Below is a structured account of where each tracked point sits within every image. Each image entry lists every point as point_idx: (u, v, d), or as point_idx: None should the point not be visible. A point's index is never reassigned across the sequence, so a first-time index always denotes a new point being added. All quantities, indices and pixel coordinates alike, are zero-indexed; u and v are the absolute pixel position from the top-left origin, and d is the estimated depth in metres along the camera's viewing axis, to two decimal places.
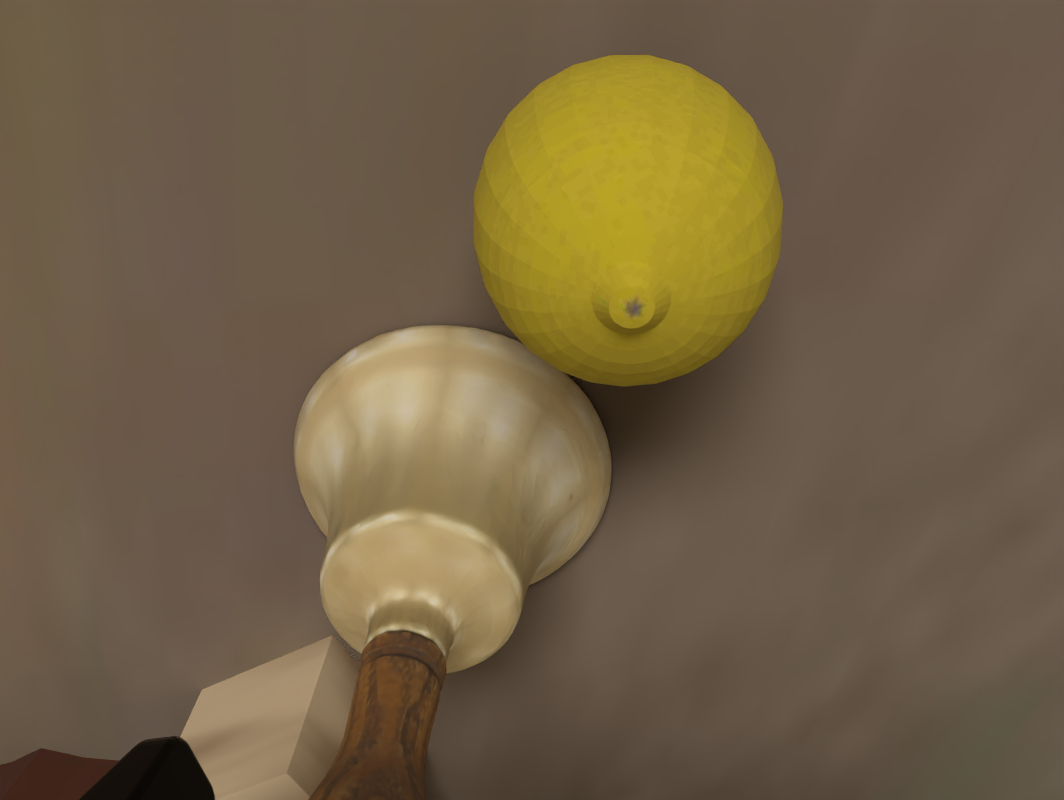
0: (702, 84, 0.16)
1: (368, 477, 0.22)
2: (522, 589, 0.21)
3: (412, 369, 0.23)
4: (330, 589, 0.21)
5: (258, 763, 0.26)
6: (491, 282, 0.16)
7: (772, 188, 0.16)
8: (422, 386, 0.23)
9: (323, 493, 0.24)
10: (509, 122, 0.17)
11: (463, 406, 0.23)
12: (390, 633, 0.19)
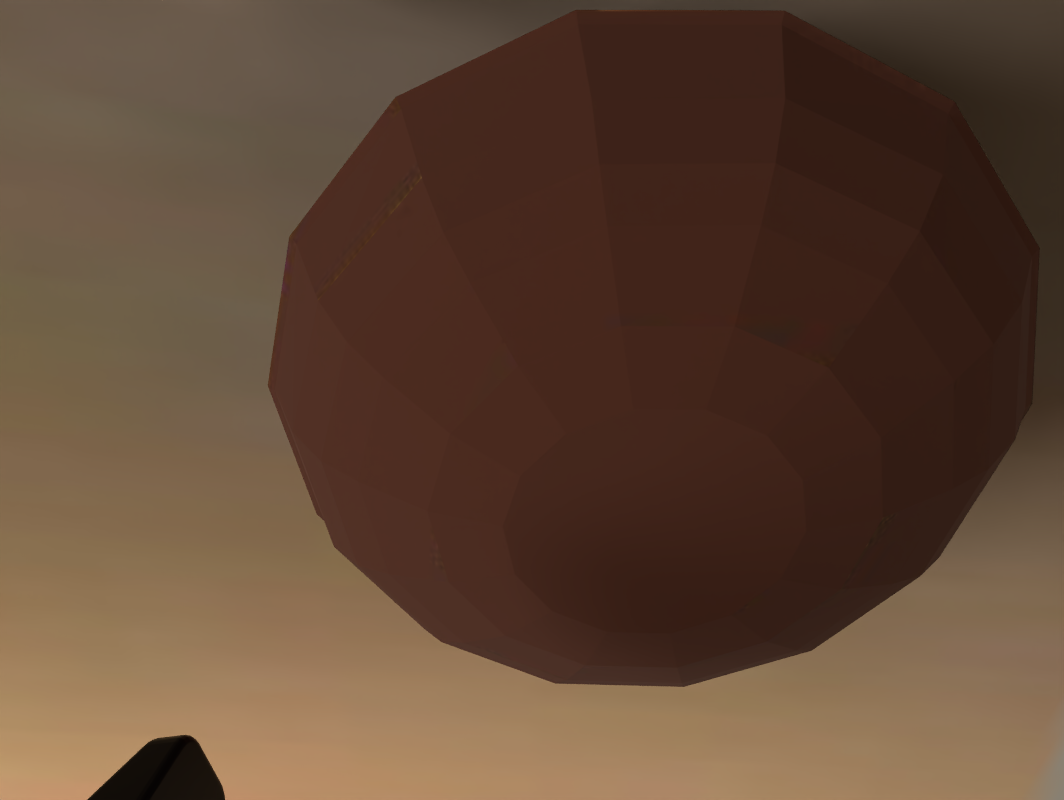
0: None
1: None
2: None
3: None
4: None
5: None
6: None
7: None
8: None
9: None
10: None
11: None
12: None
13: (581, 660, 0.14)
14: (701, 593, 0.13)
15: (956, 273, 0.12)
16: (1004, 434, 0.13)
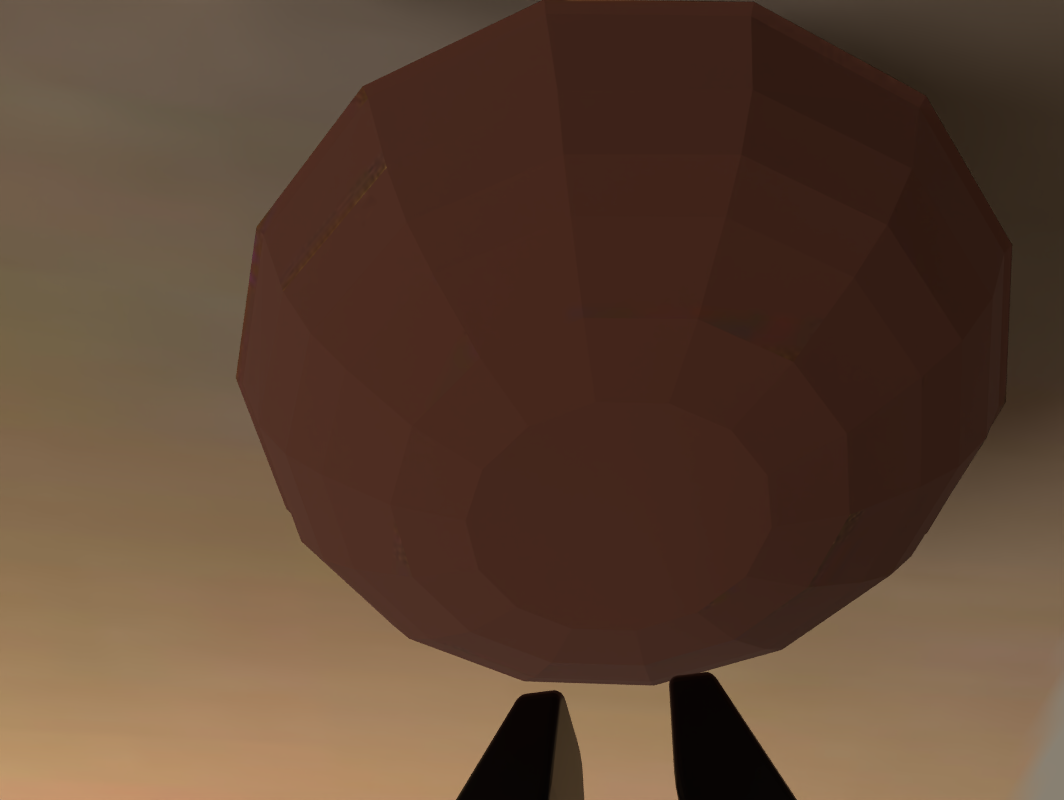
0: None
1: None
2: None
3: None
4: None
5: None
6: None
7: None
8: None
9: None
10: None
11: None
12: None
13: (547, 657, 0.14)
14: (666, 591, 0.13)
15: (924, 268, 0.12)
16: (974, 432, 0.13)
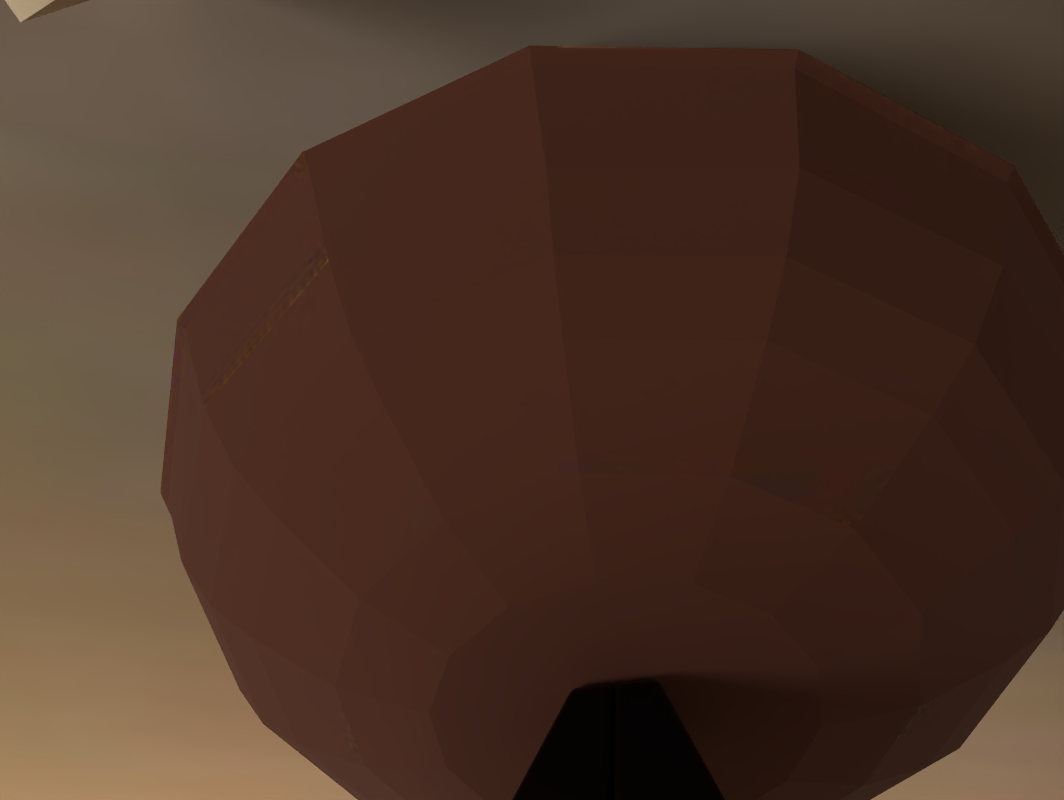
0: None
1: None
2: None
3: None
4: None
5: None
6: None
7: None
8: None
9: None
10: None
11: None
12: None
13: None
14: None
15: (1019, 395, 0.09)
16: None
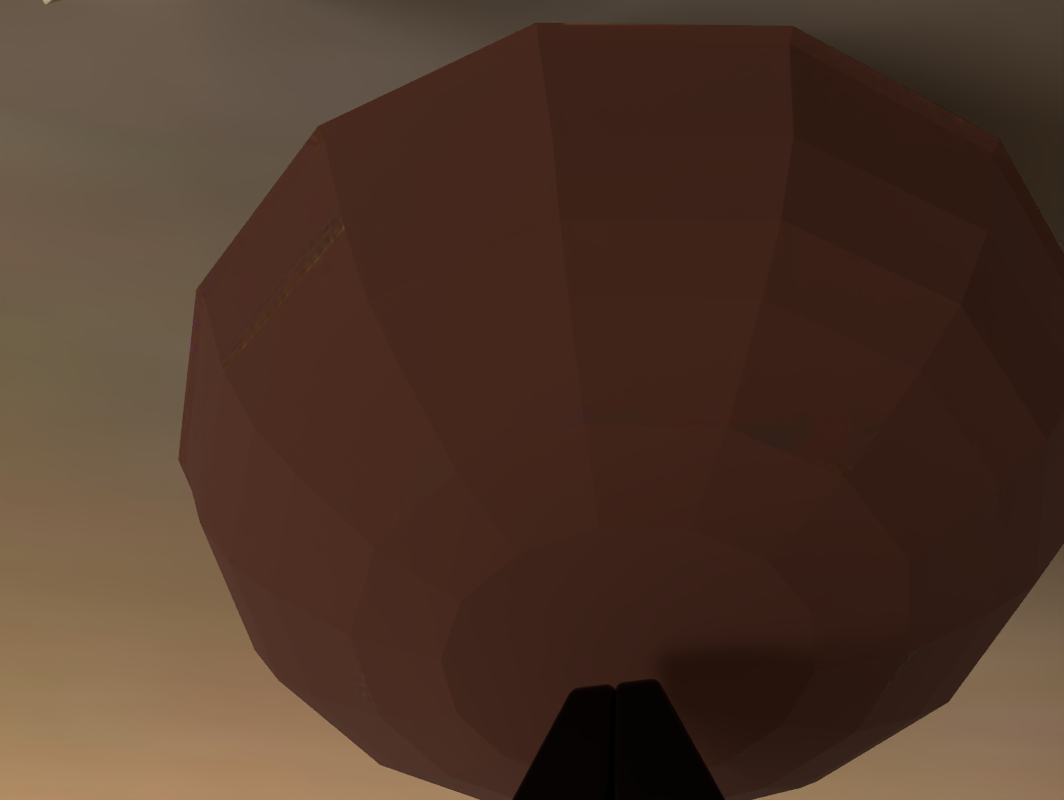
0: None
1: None
2: None
3: None
4: None
5: None
6: None
7: None
8: None
9: None
10: None
11: None
12: None
13: None
14: None
15: (1003, 354, 0.10)
16: (1053, 540, 0.11)
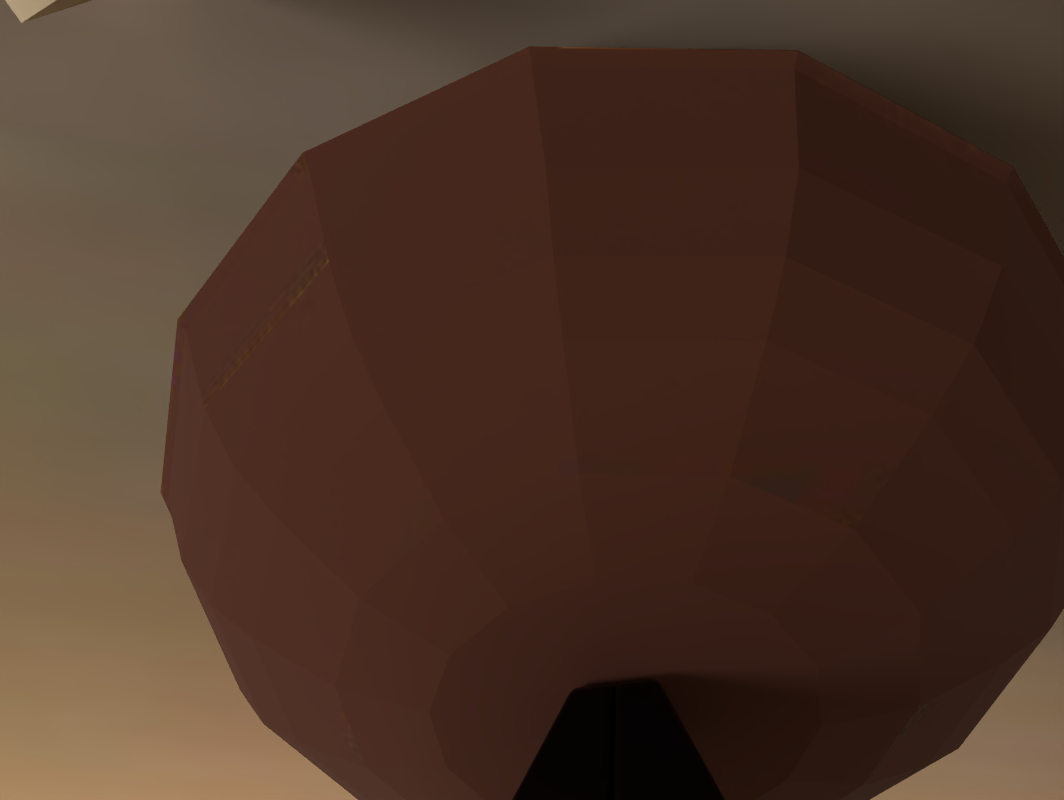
0: None
1: None
2: None
3: None
4: None
5: None
6: None
7: None
8: None
9: None
10: None
11: None
12: None
13: None
14: None
15: (1018, 396, 0.09)
16: None
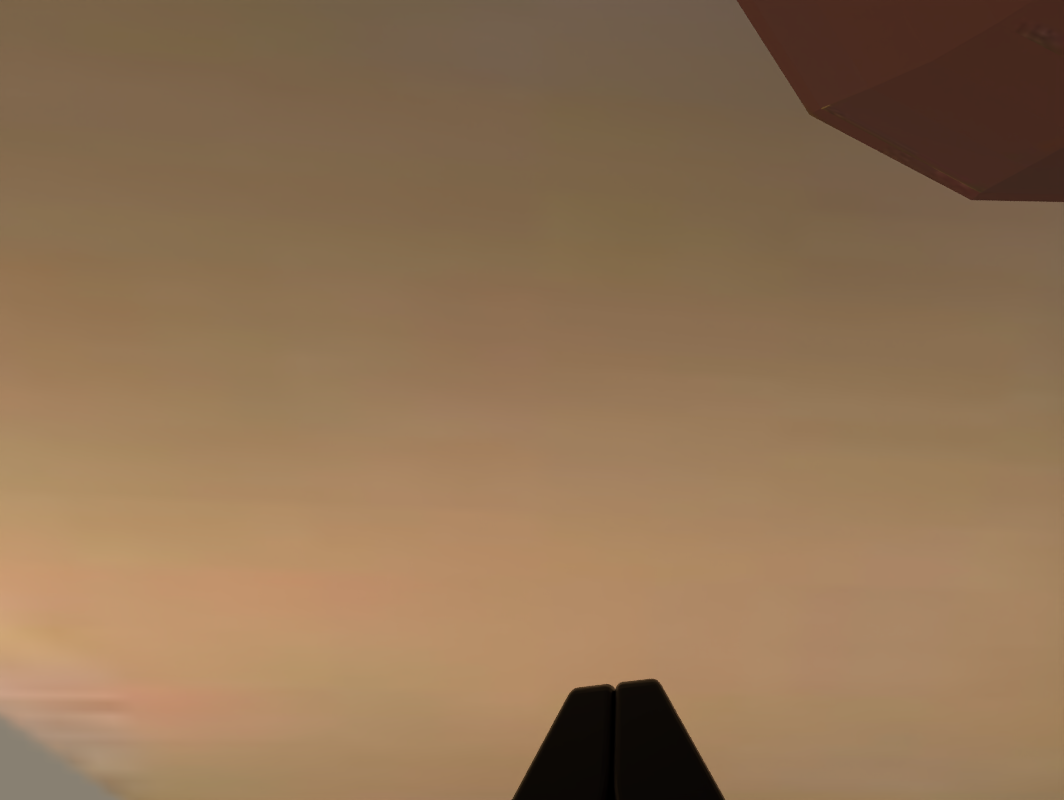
0: None
1: None
2: None
3: None
4: None
5: None
6: None
7: None
8: None
9: None
10: None
11: None
12: None
13: None
14: None
15: None
16: None
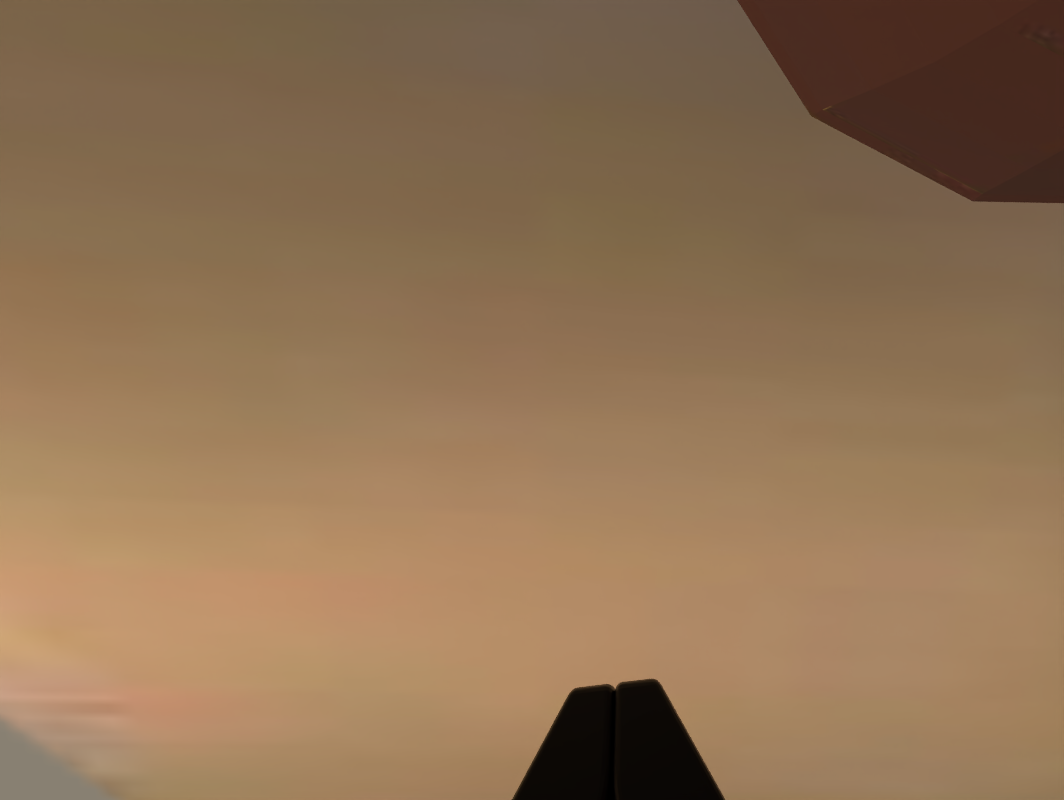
0: None
1: None
2: None
3: None
4: None
5: None
6: None
7: None
8: None
9: None
10: None
11: None
12: None
13: None
14: None
15: None
16: None
